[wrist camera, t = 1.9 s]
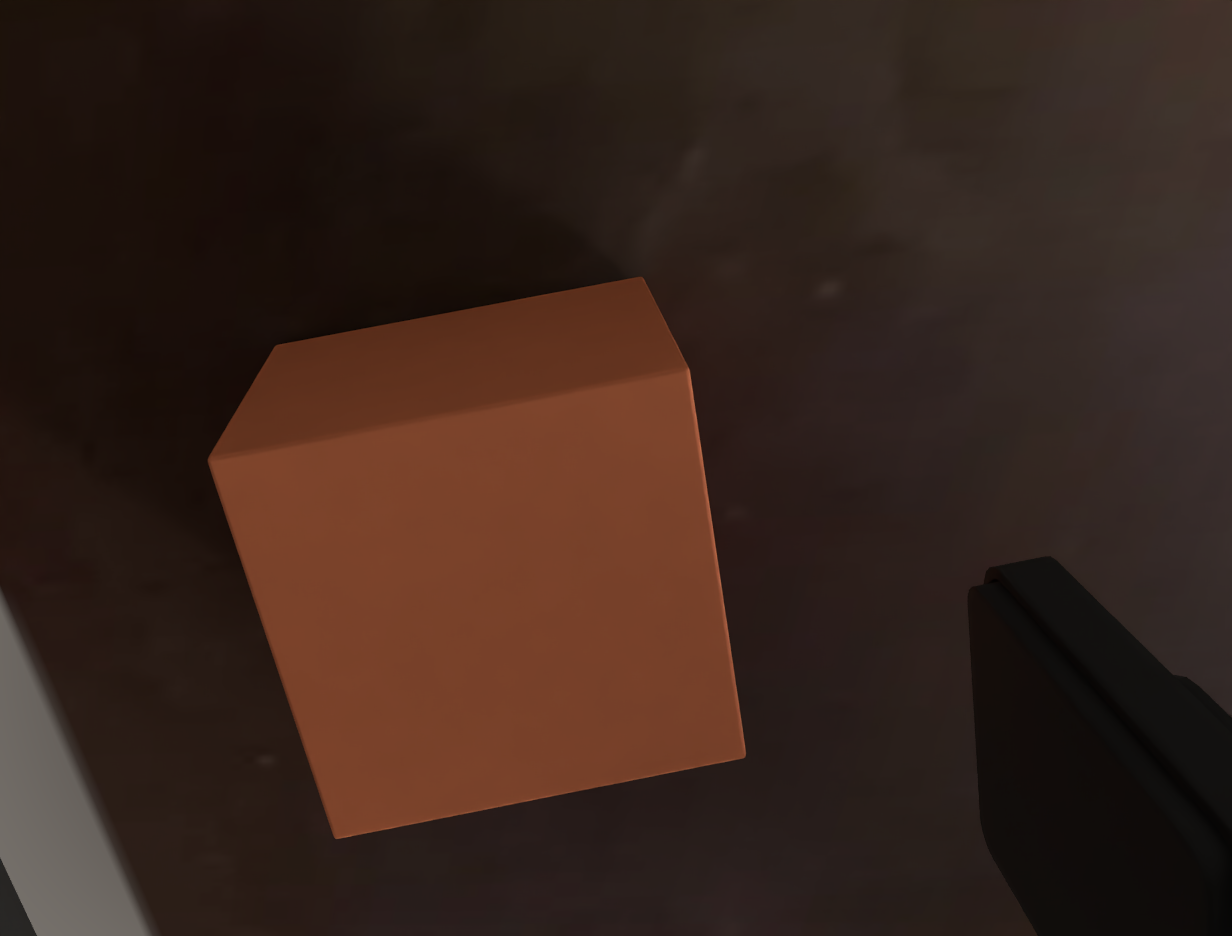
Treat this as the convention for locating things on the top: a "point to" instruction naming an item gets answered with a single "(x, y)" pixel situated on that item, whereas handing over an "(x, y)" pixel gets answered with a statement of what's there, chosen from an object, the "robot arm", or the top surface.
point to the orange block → (485, 555)
